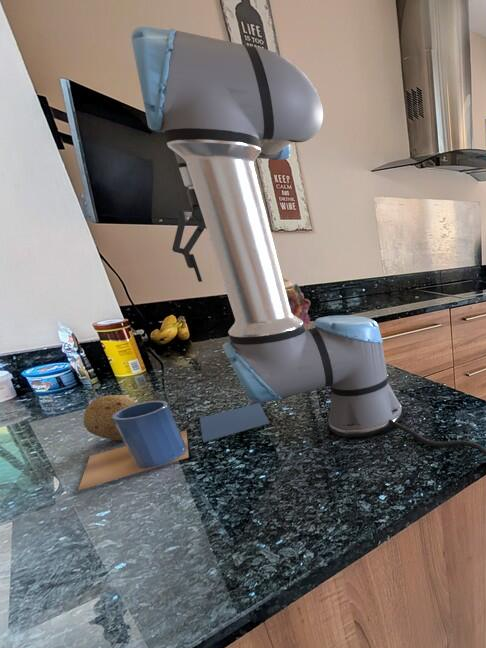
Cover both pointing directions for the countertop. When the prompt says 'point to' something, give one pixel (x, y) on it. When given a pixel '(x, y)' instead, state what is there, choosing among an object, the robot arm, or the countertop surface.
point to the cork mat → (116, 465)
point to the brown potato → (105, 416)
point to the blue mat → (232, 422)
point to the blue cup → (150, 433)
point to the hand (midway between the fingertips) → (232, 278)
